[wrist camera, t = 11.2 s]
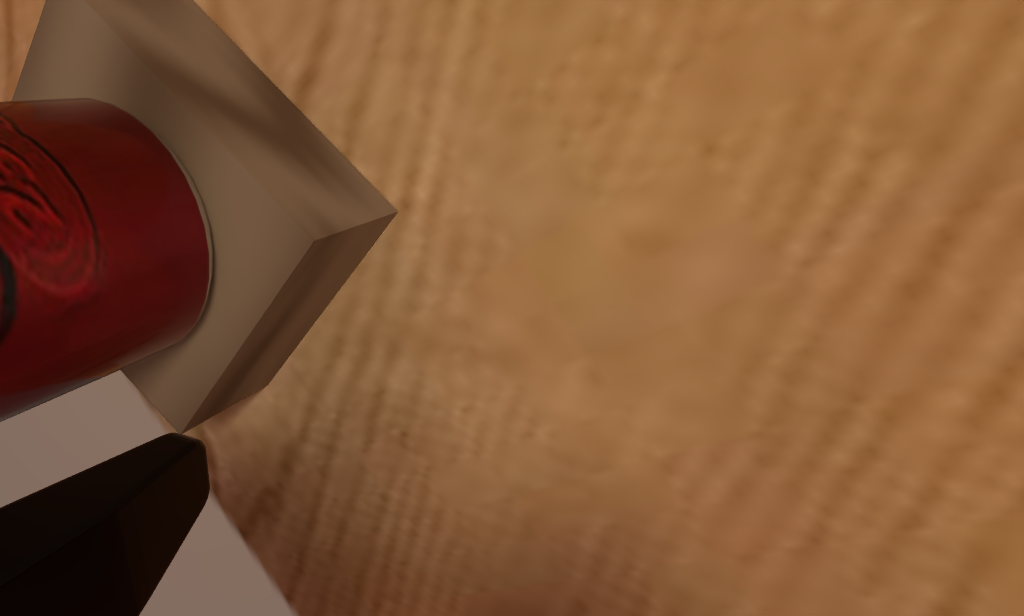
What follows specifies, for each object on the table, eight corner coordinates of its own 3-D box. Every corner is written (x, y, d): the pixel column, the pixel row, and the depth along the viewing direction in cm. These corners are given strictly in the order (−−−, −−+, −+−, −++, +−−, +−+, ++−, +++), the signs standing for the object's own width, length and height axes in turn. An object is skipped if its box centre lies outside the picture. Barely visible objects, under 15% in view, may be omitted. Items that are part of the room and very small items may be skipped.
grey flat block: (397, 211, 22) (314, 240, 18) (267, 384, 26) (179, 434, 23) (176, -16, 23) (56, -29, 19) (85, 190, 27) (-26, 209, 24)
